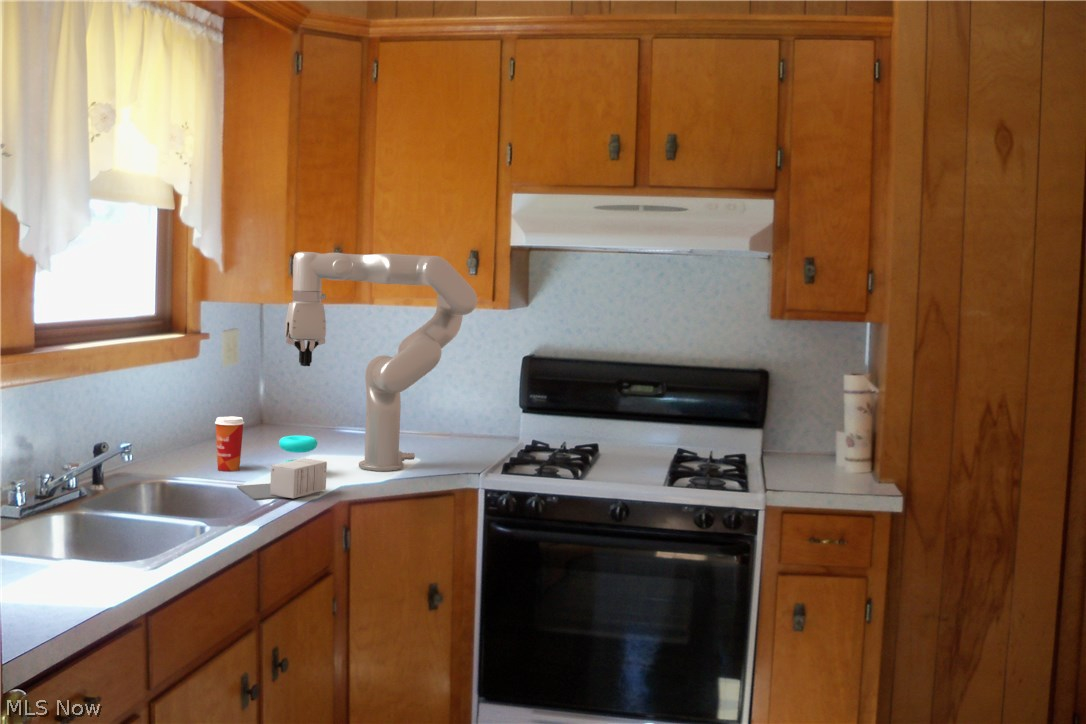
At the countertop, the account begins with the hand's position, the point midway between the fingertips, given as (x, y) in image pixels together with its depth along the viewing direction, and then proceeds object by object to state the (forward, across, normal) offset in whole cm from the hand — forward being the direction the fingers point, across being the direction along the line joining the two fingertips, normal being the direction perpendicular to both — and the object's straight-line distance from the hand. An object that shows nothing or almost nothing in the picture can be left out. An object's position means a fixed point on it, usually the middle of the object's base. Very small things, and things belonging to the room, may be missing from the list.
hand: (305, 365), depth 268 cm
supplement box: (+25, +6, +24) cm, 35 cm away
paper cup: (+29, +18, -8) cm, 35 cm away
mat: (+29, +15, +22) cm, 39 cm away
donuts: (+29, +3, +4) cm, 30 cm away
